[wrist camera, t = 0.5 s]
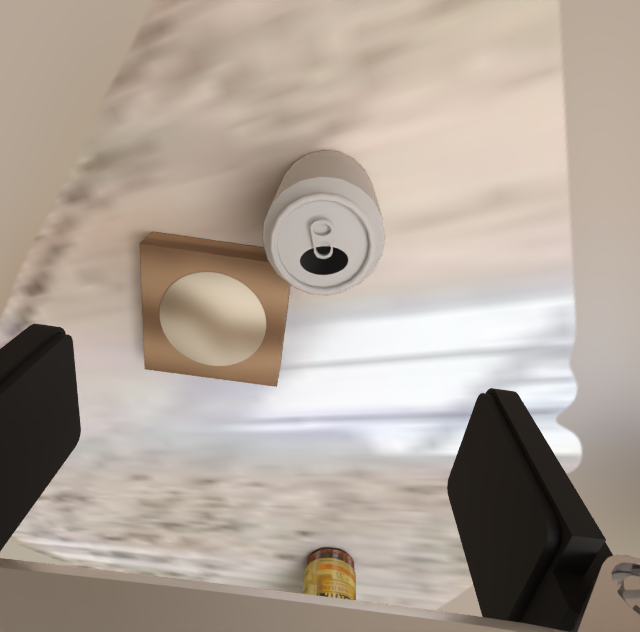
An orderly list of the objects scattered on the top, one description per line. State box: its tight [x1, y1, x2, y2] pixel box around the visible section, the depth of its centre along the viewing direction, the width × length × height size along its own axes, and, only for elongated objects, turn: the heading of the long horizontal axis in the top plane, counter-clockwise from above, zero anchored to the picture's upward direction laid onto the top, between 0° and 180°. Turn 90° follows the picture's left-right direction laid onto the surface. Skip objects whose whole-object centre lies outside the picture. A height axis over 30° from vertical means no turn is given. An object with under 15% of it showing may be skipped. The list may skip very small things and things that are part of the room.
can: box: [263, 150, 385, 295], centre depth 33 cm, size 8×8×12 cm
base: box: [140, 232, 290, 387], centre depth 41 cm, size 12×12×3 cm
